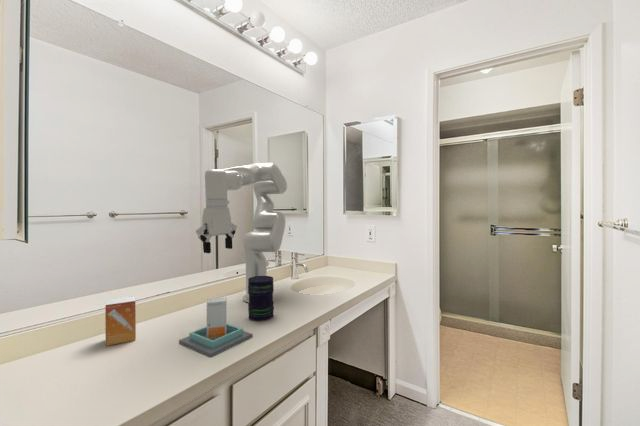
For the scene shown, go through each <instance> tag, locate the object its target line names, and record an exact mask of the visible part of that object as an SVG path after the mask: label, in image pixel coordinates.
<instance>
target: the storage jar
mask: <svg viewBox="0 0 640 426" xmlns="http://www.w3.org/2000/svg"><path fill="white" fill-rule="evenodd" d="M248 282H249V283H248V294H249V302H247V303H248V304H247V312H248V319H249V320H250V321H253V322H265V321H268V320H271V319H272V318H273V317H275V316H274V313H275V311H274V310H275V307H274V306H275V302H274V288H275V285H274V277H273V276H270V275H267V276H255V277H251V278H249V279H248Z"/></svg>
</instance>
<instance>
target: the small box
mask: <svg viewBox="0 0 640 426" xmlns="http://www.w3.org/2000/svg"><path fill="white" fill-rule="evenodd" d="M104 307H105V311H104V312H105V315H104V316H105V320H104V321H105V323H104V324H105V328H104V329H105V332H104V333H105V347H108V346H112V345H118V344H123V343H128V342H133V341H136V339H137V338H136V336H137V334H136V333H137V332H136V330H137V329H136V327H137V324H136V322H137V320H136V318H137V317H136V314H137V313H136V311H137V310H136V296H135V295H133V296H127V297H117V298H113V299H106V300H105V306H104Z"/></svg>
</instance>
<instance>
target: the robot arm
mask: <svg viewBox="0 0 640 426" xmlns="http://www.w3.org/2000/svg"><path fill="white" fill-rule="evenodd" d="M250 185H252V188H253V191H254V192H253V193H254V195H255V198H256V206H255V210H254V214H253V218H252V222H251V226H252V228H253V230H254V231H253V230H252V231H249V232H247V233H245V234H244V236H243V239H242V244H243V249H244V254H245V255H244V256H245V294H244V295H243V296H242V301H243V302H245V303H249V294H248V283H249V282H248V279H249V278H251V277H255V276H268V275H267V274H268V273H267V267H268V266H267V264H268V263H267V258H266V256H265V254H264V253H277V252H279V250H280V249H281V246H282V244H283V243H282V241H283V237H284V234H285V233H284V232H285V229H286V217H285V214H284V213H282V212H281V211H274V209H275V205H274V201H273V200H272V198H271V197H270V196H269V195H283V194H284V193H285V192H286V191H287V189H288V183H287V180H286V178H285V176H284V175H283V173H282V170H281V169H280V168H279V166H278V165H276V164H275V162H274V163H273V162H256V163H255V162H253V163H250V164H245V165H240V166H234V167H229V168H222V169H208V170H205V172H204V189H205V193H204V196H205V208H203V211H202V217H201V218H202V219H201V226H200V227H199V228H197V229H196V230H195V233H196V235H197V236H198V238H199V240H200V241H201V242H202V250H203V253H204V254H211V252H212V247H211V241H210V240H211V238H212V237H216V236H222V235H223V236H224V237H225V238H224V241H225V242H224V243H225V244H224V245H225V246H224V247H225V249H230V250H233V238H234V235H235V234H236V231H237V228H238V226H237V224H234V223H232V217H231V211H230V207H229V206H228V205H229V204H230V201H229V200H228V191H237V190H239V189H241V188H242V187H243V186H244V187H245V186H250Z"/></svg>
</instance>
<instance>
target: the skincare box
mask: <svg viewBox="0 0 640 426" xmlns="http://www.w3.org/2000/svg"><path fill="white" fill-rule="evenodd" d="M227 305H228V301H227V297H216V298H207V301H206V326H207V338H208V339H217V338H220V337H222V336H224V335H226V323H227Z"/></svg>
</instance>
